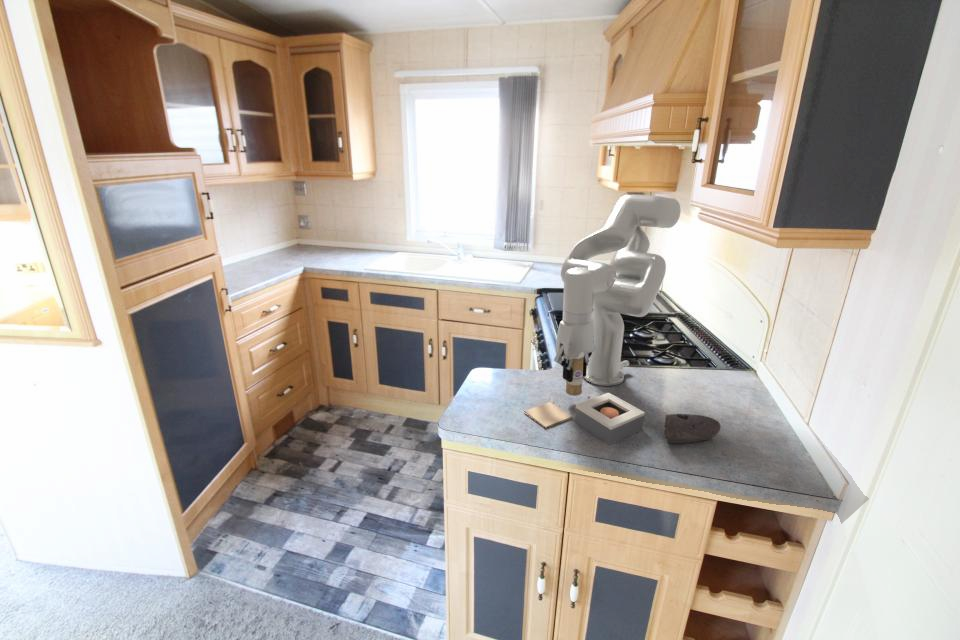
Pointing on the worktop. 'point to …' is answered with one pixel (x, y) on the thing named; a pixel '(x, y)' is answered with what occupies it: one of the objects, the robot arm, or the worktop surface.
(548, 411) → the coaster
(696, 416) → the perforated stone tool
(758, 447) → the worktop surface
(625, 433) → the grey square open box
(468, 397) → the worktop surface
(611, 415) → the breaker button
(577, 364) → the sprinkles bottle
